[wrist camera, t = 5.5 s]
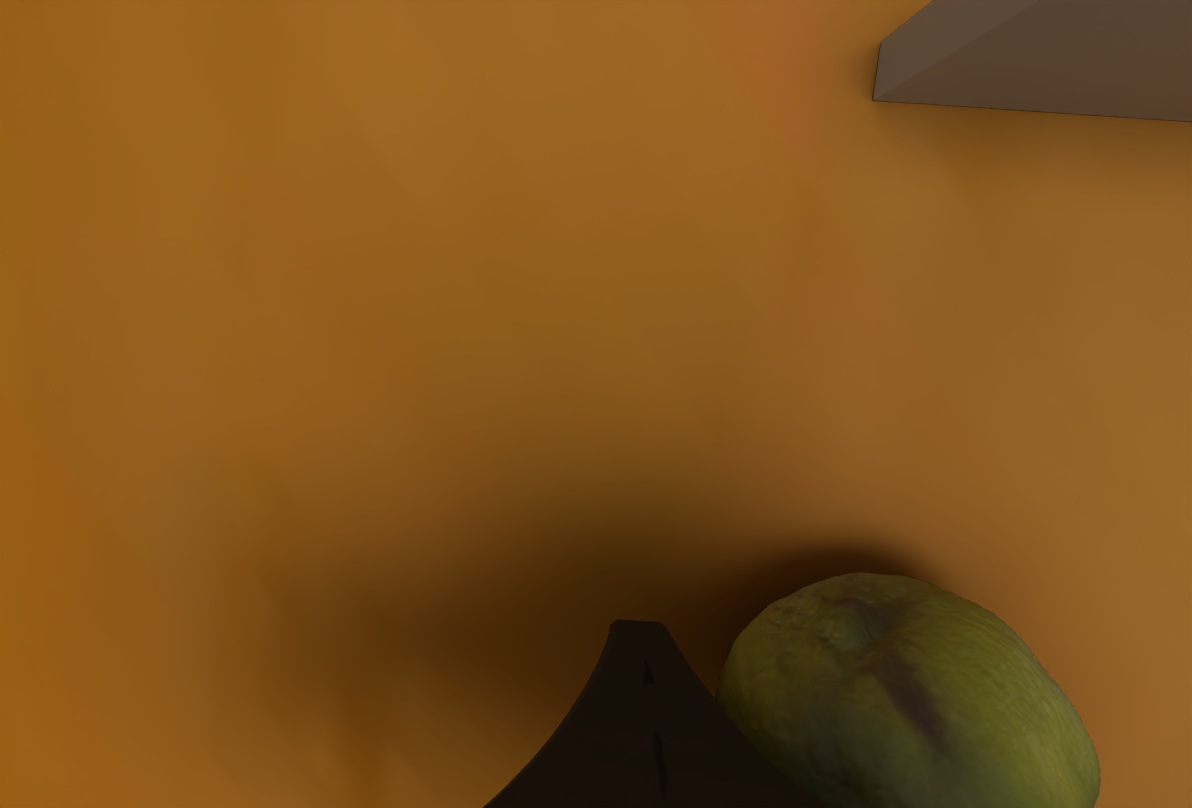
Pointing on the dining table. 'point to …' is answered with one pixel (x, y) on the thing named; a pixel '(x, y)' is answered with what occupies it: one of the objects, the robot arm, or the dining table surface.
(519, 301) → the dining table surface
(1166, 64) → the grey angular open frame
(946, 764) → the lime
